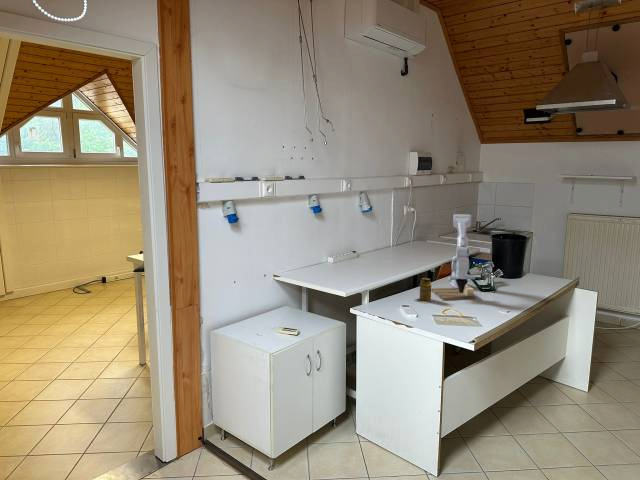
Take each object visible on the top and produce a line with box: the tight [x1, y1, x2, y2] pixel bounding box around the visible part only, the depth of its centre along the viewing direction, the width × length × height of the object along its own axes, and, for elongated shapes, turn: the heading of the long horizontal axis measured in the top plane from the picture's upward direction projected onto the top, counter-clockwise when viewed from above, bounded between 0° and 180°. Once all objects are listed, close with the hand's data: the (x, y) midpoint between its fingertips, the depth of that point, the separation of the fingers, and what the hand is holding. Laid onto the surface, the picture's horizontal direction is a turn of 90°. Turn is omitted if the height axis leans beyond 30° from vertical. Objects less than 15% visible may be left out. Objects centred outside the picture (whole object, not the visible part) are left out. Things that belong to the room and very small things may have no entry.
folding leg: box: [463, 284, 475, 296], centre depth 267 cm, size 12×4×3 cm, turn 8°
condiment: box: [414, 277, 434, 304], centre depth 258 cm, size 7×8×12 cm
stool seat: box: [431, 286, 476, 301], centre depth 268 cm, size 18×18×2 cm
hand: (461, 292), depth 262 cm, fingers closed
